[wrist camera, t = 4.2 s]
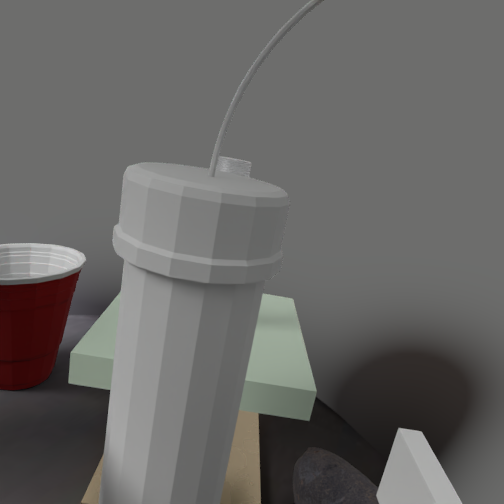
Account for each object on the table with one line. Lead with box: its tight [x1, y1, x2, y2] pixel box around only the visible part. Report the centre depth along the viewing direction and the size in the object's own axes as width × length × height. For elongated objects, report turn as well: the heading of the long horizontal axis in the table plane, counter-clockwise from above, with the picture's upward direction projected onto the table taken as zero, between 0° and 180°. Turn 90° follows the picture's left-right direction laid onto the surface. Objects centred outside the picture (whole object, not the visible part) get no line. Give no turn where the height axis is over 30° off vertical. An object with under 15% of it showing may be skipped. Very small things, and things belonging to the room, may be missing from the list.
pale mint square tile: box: [68, 292, 317, 421], centre depth 30 cm, size 14×14×2 cm
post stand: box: [81, 157, 261, 504], centre depth 30 cm, size 12×12×24 cm
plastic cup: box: [0, 243, 86, 390], centre depth 38 cm, size 11×11×12 cm
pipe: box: [99, 0, 324, 504], centre depth 15 cm, size 6×6×30 cm
